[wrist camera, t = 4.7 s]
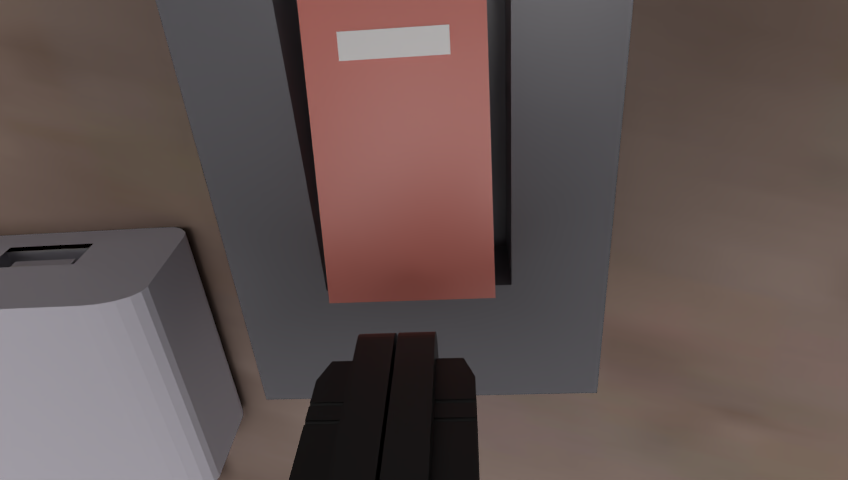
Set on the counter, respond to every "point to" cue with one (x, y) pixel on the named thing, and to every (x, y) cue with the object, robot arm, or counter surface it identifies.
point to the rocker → (401, 147)
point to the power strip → (511, 189)
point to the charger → (110, 360)
